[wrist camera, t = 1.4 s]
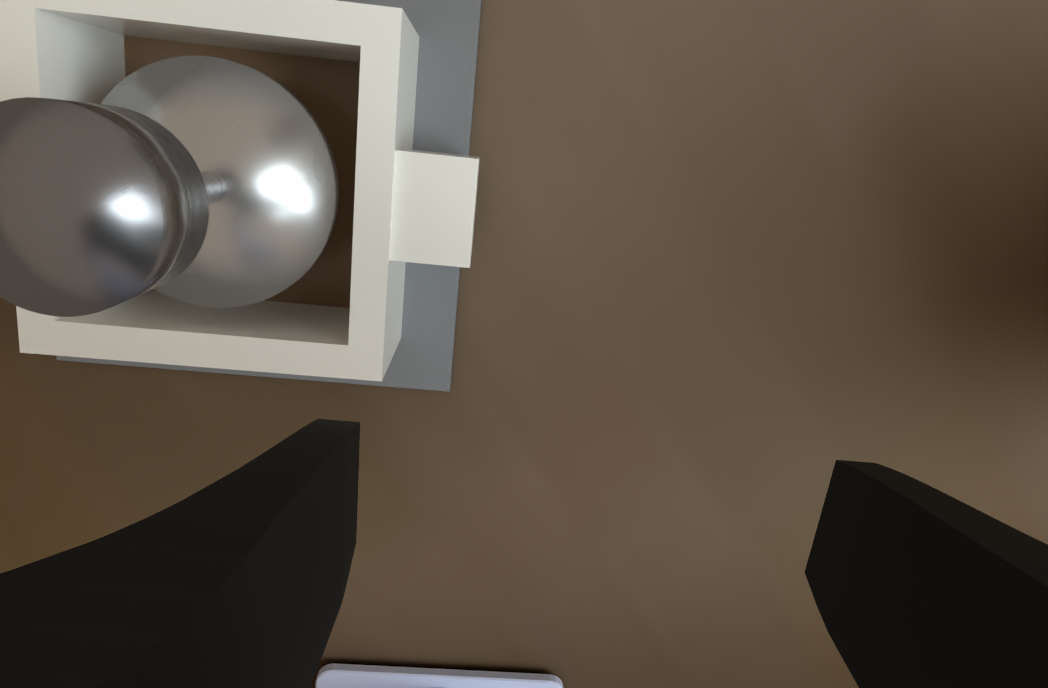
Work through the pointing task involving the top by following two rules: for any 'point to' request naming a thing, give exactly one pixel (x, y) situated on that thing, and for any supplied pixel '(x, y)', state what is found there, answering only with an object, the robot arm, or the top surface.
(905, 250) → the top surface
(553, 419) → the top surface
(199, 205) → the plunger
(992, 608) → the robot arm
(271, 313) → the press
